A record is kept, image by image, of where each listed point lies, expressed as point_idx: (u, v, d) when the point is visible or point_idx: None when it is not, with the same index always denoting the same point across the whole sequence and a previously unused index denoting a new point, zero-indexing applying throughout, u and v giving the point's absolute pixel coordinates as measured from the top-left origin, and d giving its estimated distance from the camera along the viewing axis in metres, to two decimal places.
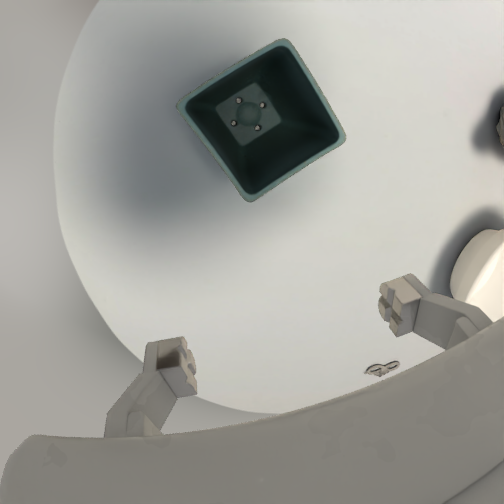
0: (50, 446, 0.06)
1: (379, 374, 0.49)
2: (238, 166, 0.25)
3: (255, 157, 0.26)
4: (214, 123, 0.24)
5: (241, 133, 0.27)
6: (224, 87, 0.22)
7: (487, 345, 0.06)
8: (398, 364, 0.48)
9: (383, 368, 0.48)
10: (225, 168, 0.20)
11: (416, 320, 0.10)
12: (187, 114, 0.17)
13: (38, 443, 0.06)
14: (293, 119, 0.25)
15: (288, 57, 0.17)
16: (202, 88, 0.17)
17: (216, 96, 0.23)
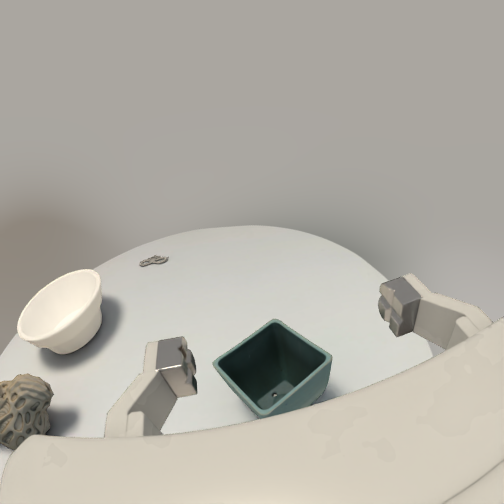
0: (50, 446, 0.06)
1: (155, 256, 0.69)
2: (285, 356, 0.34)
3: (273, 367, 0.34)
4: None
5: (286, 388, 0.33)
6: None
7: (487, 345, 0.06)
8: (140, 263, 0.68)
9: (153, 260, 0.68)
10: (292, 331, 0.30)
11: (416, 320, 0.10)
12: (323, 353, 0.27)
13: (38, 443, 0.06)
14: None
15: None
16: (317, 369, 0.25)
17: None
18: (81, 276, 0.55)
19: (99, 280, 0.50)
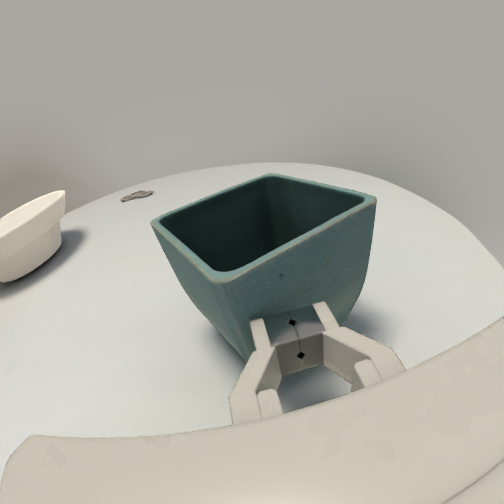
0: (50, 446, 0.06)
1: (140, 191, 0.57)
2: None
3: None
4: None
5: None
6: None
7: (487, 345, 0.06)
8: (121, 198, 0.56)
9: (136, 195, 0.56)
10: (299, 179, 0.17)
11: (324, 354, 0.10)
12: (358, 195, 0.14)
13: (38, 443, 0.06)
14: None
15: None
16: (349, 210, 0.12)
17: None
18: (48, 199, 0.43)
19: (62, 194, 0.38)
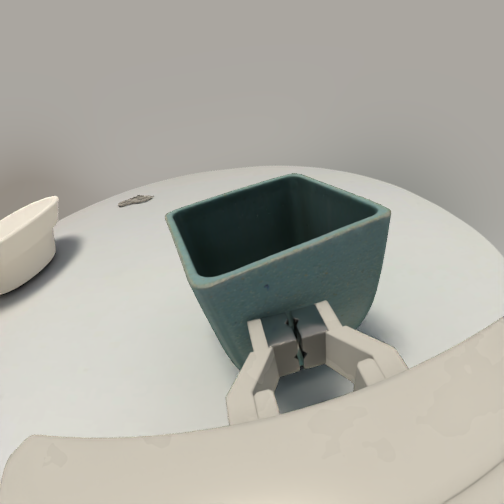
0: (50, 446, 0.06)
1: (139, 196, 0.54)
2: None
3: None
4: None
5: None
6: None
7: (487, 345, 0.06)
8: (119, 204, 0.53)
9: (134, 200, 0.53)
10: (319, 182, 0.16)
11: (326, 353, 0.10)
12: (372, 206, 0.12)
13: (38, 443, 0.06)
14: None
15: None
16: (355, 223, 0.11)
17: None
18: (42, 205, 0.40)
19: (55, 201, 0.35)
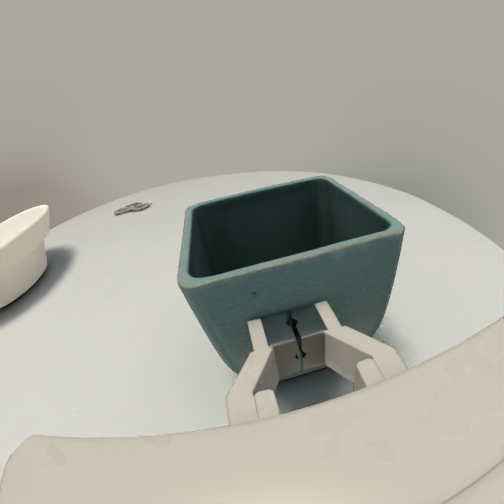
0: (50, 446, 0.06)
1: (136, 203, 0.51)
2: None
3: None
4: None
5: None
6: None
7: (487, 345, 0.06)
8: (115, 211, 0.50)
9: (131, 207, 0.49)
10: (343, 188, 0.15)
11: (325, 353, 0.10)
12: (387, 220, 0.11)
13: (38, 443, 0.06)
14: None
15: None
16: (360, 238, 0.10)
17: None
18: (32, 215, 0.37)
19: (44, 211, 0.32)
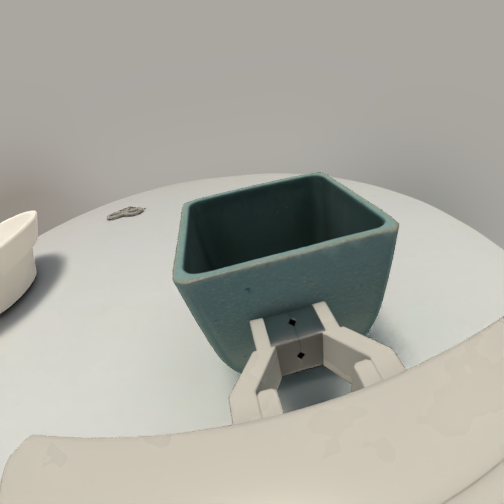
0: (50, 446, 0.06)
1: (129, 208, 0.48)
2: None
3: None
4: None
5: None
6: None
7: (487, 345, 0.06)
8: (108, 216, 0.47)
9: (124, 212, 0.47)
10: (339, 184, 0.15)
11: (323, 354, 0.10)
12: (382, 217, 0.11)
13: (38, 443, 0.06)
14: None
15: None
16: (353, 235, 0.10)
17: None
18: (21, 221, 0.34)
19: (32, 218, 0.29)
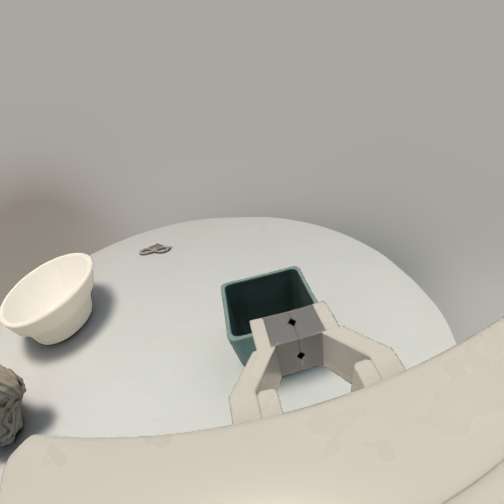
0: (50, 446, 0.06)
1: (157, 245, 0.63)
2: None
3: None
4: None
5: None
6: None
7: (487, 345, 0.06)
8: (140, 252, 0.62)
9: (154, 249, 0.61)
10: (304, 281, 0.30)
11: (323, 354, 0.10)
12: None
13: (38, 443, 0.06)
14: None
15: None
16: None
17: None
18: (73, 260, 0.49)
19: (91, 265, 0.44)
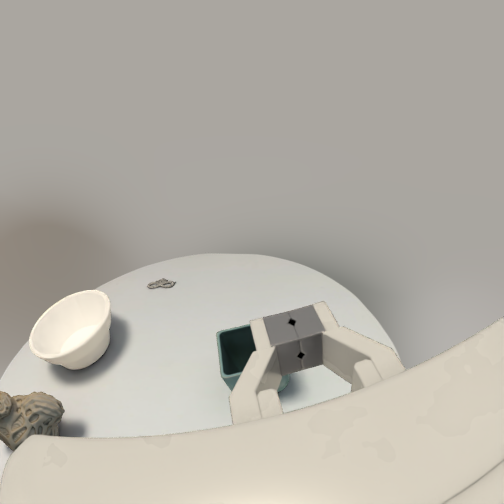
0: (50, 446, 0.06)
1: (163, 280, 0.72)
2: None
3: None
4: None
5: None
6: None
7: (487, 345, 0.06)
8: (148, 286, 0.71)
9: (161, 284, 0.71)
10: None
11: (324, 354, 0.10)
12: None
13: (38, 443, 0.06)
14: (237, 368, 0.44)
15: (225, 373, 0.36)
16: None
17: None
18: (91, 296, 0.59)
19: (109, 304, 0.53)
